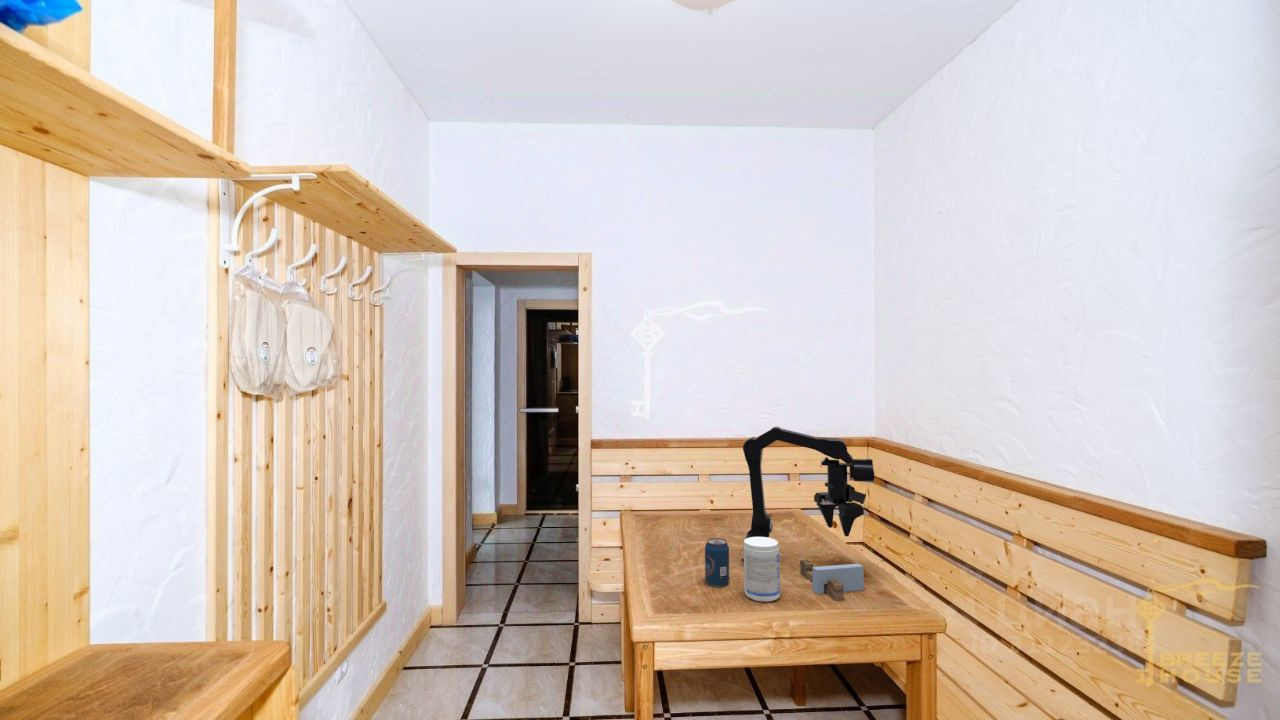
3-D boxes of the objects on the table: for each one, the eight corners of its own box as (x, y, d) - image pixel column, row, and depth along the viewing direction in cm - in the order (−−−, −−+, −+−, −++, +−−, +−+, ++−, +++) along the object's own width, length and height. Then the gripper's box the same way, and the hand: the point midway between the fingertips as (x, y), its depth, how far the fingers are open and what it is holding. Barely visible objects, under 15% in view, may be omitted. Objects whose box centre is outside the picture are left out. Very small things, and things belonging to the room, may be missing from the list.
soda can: (700, 580, 159) (700, 539, 159) (721, 576, 161) (720, 536, 162) (713, 589, 152) (712, 546, 153) (734, 585, 155) (733, 542, 155)
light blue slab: (817, 594, 149) (816, 570, 149) (812, 590, 151) (812, 567, 151) (863, 590, 151) (863, 566, 151) (858, 586, 153) (858, 563, 154)
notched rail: (843, 599, 145) (843, 584, 145) (836, 600, 144) (835, 585, 144) (807, 572, 164) (806, 559, 164) (800, 573, 164) (800, 559, 164)
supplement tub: (786, 601, 144) (785, 545, 144) (753, 604, 142) (752, 548, 142) (769, 587, 154) (769, 534, 154) (738, 590, 151) (737, 537, 152)
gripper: (880, 485, 158) (881, 539, 158) (844, 473, 176) (845, 522, 176) (845, 487, 156) (846, 541, 156) (812, 475, 174) (813, 524, 174)
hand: (838, 531), depth 165 cm, fingers open, 9 cm apart
